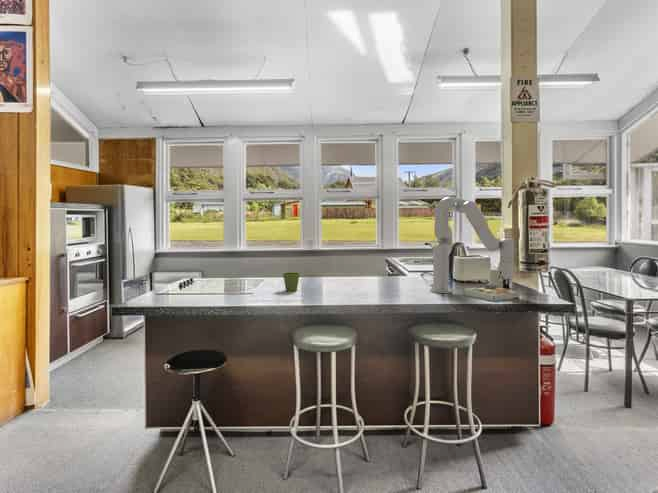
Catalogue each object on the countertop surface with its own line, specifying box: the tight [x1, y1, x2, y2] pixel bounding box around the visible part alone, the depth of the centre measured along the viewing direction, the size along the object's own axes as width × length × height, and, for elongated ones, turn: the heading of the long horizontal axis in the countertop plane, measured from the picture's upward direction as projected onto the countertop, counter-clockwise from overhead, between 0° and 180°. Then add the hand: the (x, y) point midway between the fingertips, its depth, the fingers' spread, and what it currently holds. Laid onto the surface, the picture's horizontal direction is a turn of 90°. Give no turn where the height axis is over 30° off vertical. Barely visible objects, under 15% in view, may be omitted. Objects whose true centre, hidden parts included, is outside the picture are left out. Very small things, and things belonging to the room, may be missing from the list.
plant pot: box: [282, 271, 301, 292], centre depth 266 cm, size 12×12×11 cm
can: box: [488, 267, 503, 288], centre depth 278 cm, size 9×9×12 cm
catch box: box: [462, 287, 507, 303], centre depth 242 cm, size 22×11×4 cm, turn 29°
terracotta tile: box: [496, 287, 508, 294], centre depth 239 cm, size 5×5×2 cm
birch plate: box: [477, 287, 518, 300], centre depth 247 cm, size 20×11×3 cm, turn 29°
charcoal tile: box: [483, 283, 498, 290], centre depth 253 cm, size 5×5×2 cm
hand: (505, 290), depth 242 cm, fingers closed
